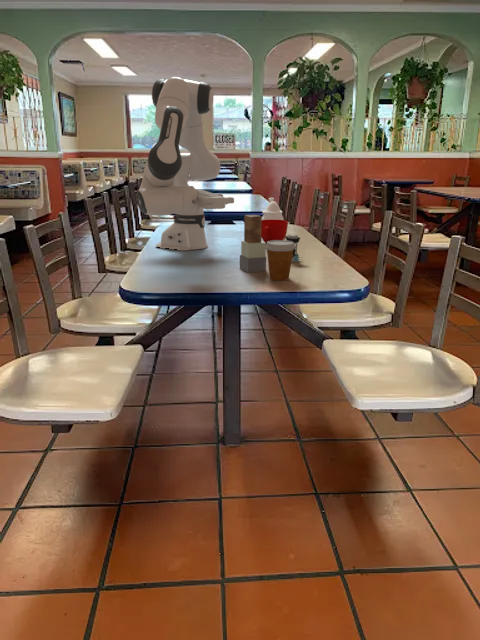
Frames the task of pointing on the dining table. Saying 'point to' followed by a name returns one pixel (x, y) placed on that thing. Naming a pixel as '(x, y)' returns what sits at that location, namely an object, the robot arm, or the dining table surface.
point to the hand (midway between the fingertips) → (227, 198)
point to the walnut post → (252, 228)
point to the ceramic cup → (273, 230)
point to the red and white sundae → (272, 211)
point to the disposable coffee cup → (279, 259)
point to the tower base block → (252, 264)
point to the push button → (295, 240)
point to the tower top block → (253, 249)
